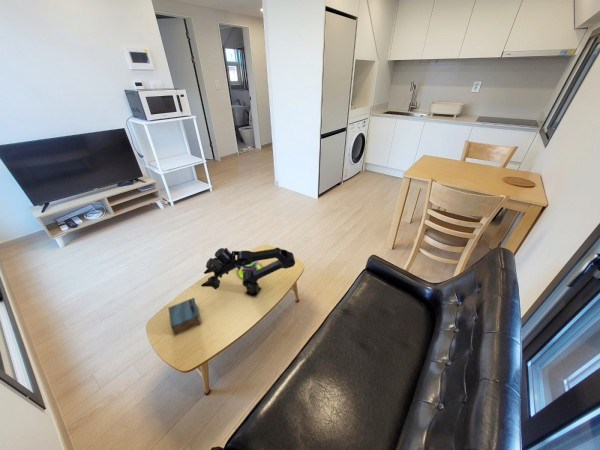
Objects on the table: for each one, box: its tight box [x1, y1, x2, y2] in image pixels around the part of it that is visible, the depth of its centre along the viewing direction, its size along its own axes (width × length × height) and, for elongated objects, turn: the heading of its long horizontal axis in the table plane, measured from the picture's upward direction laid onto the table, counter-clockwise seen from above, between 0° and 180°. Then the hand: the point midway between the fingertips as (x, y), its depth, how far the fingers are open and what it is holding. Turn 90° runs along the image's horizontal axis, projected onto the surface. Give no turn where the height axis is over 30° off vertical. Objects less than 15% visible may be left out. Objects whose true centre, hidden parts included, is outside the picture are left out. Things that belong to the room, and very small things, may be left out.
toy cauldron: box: [238, 261, 262, 280], centre depth 151 cm, size 15×15×11 cm
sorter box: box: [171, 315, 201, 335], centre depth 123 cm, size 12×12×6 cm
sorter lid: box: [168, 297, 200, 328], centre depth 120 cm, size 13×12×4 cm
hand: (202, 279), depth 128 cm, fingers open, 9 cm apart
